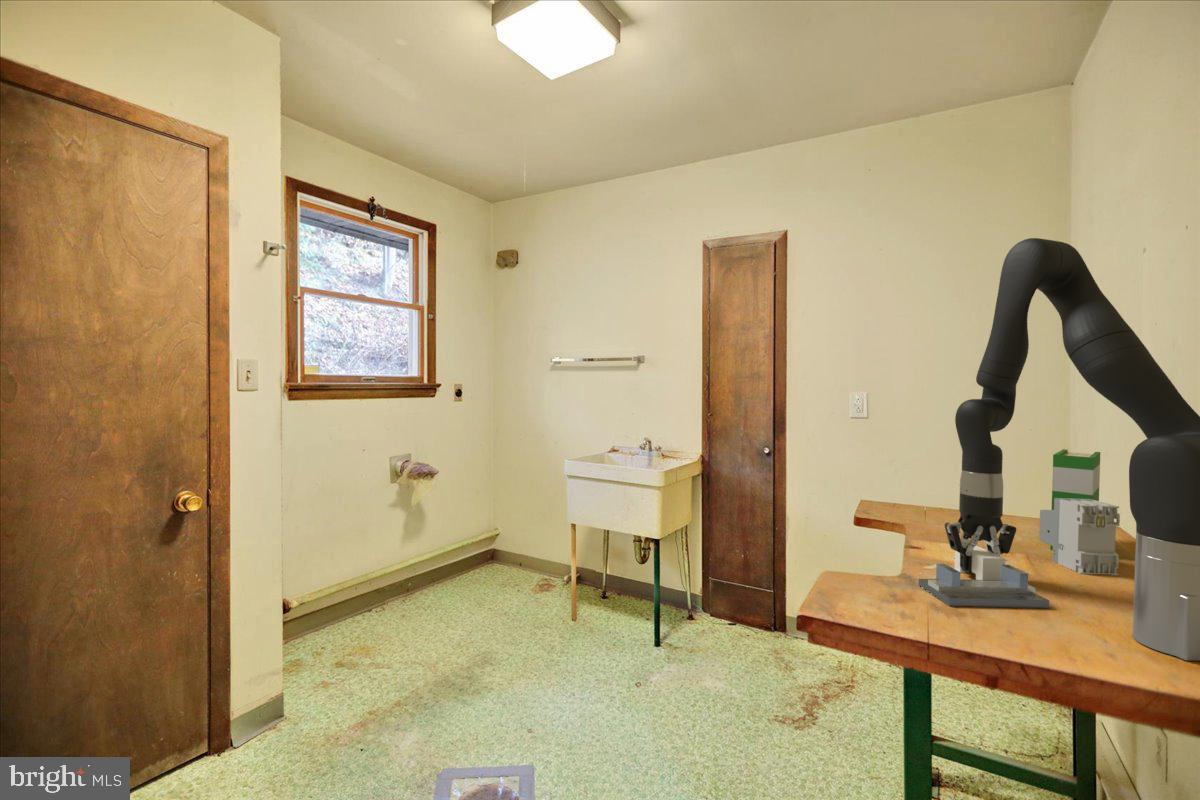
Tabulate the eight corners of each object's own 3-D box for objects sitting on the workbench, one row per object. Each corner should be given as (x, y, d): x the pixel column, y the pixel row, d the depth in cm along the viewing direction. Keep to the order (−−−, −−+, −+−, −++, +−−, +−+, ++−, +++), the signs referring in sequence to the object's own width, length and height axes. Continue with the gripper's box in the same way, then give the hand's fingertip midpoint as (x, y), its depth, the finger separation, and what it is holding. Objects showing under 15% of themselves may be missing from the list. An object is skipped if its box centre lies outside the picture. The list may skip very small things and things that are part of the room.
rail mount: (1049, 608, 97) (1050, 578, 97) (949, 606, 98) (949, 576, 98) (1009, 587, 107) (1009, 560, 107) (918, 585, 108) (919, 559, 108)
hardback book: (1060, 536, 145) (1063, 449, 144) (1097, 542, 139) (1100, 452, 139) (1050, 550, 133) (1053, 454, 132) (1090, 557, 127) (1093, 457, 127)
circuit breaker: (1066, 554, 129) (1068, 493, 129) (1117, 575, 115) (1120, 506, 115) (1033, 553, 130) (1035, 492, 130) (1080, 574, 116) (1082, 505, 115)
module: (1004, 585, 109) (1005, 558, 109) (982, 584, 109) (983, 558, 109) (975, 569, 118) (975, 545, 118) (954, 569, 118) (955, 545, 118)
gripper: (958, 495, 109) (955, 577, 110) (1028, 496, 109) (1026, 579, 109) (936, 488, 117) (934, 565, 117) (1002, 489, 116) (1000, 566, 117)
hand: (978, 571), depth 113 cm, fingers closed on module, 4 cm apart
